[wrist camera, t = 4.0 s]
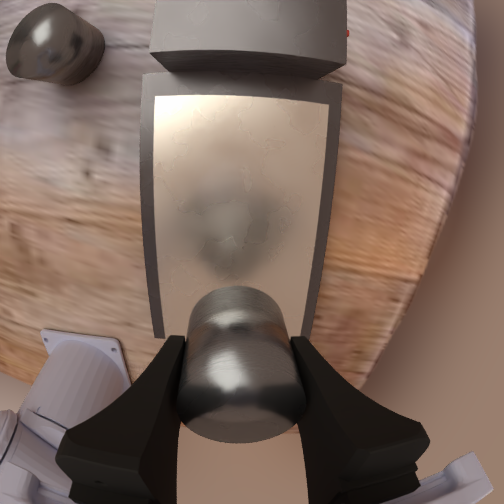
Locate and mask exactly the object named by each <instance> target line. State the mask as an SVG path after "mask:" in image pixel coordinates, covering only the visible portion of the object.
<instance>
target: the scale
mask: <svg viewBox="0 0 504 504" xmlns="http://www.w3.org/2000/svg"><path fill="white" fill-rule="evenodd" d="M348 36H349V30H347V2H346V0H156V3H155V9H154V16H153V23H152V31H151V39H150V48H149V53H150V54H151V55H152V56H153V57H154V58H155V59H156V60H157V61H158V62H160V63H161V64H162V65H163V66H164V67H165V68H166V69H167V70H168V71H169V72H160V73H147V74H143V79H142V94H141V115H140V195H141V217H142V233H143V246H144V258H145V268H146V277H147V286H148V295H149V302H150V310H151V317H152V324H153V330H154V337H155V338H163V339H166V340H167V338H168V337H169V336H170V335H182V336H185V342H186V336H187V330H188V324H189V318H190V314H191V312H192V309H193V308H194V306H195V304H196V303H197V302H198V301H199V300H200V299H201V298H202V297H203V296H205V295H206V294H208V293H210V292H211V291H213V290H216V289H219V288H222V287H226V286H247V287H252V288H255V289H258V290H260V291H262V292H264V293H266V294H267V295H269V296H270V297H271V298H272V299H274V301H275V302H276V303H277V304H278V306H279V307H280V309H281V312H282V314H283V318H284V321H285V325H286V328H287V332H288V335H289V339H290V338H291V336H305V337H306V338H307V339H308V340H309V338H310V333H311V329H312V324H313V318H314V313H315V308H316V303H317V297H318V292H319V286H320V281H321V275H322V269H323V263H324V256H325V250H326V243H327V237H328V230H329V222H330V215H331V207H332V199H333V191H334V182H335V173H336V164H337V153H338V142H339V130H340V117H341V101H342V84H340V83H335V82H329V81H323V80H317V79H319V78H321V77H323V76H325V75H326V74H328V73H330V72H333V71H335V70H336V69H338V68H340V67H342V66H344V65H346V56H347V37H348Z"/></svg>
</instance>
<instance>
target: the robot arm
mask: <svg viewBox="0 0 504 504" xmlns="http://www.w3.org/2000/svg"><path fill="white" fill-rule="evenodd" d="M40 334H41V337H42V340H43V342H44V345H45V347H46V350H47V352H48V355H49V358H48V359H47V361H46V363H45V364H44V366H43V368H42V369H41V371H40V373H39V374H38V376H37V378H36V380H35V381H34V383H33V385H32V387H31V388H30V390H29V392H28V394H27V396H26V398H25V399H24V401H23V403H22V405H21V407H20V409H19V411H18V413H16V414H15V413H14V412H13V411H12V410H7V411H6V410H5V411H0V504H177V496H176V495H177V492H176V491H177V490H176V489H177V488H176V487H177V483H176V482H177V480H176V479H177V449H178V437H179V429H180V424H181V420H180V418H179V416H178V414H177V410H176V402H177V395H178V388H179V381H180V374H181V367H182V361H183V354H184V348H185V336H182V335H170V336H169V337H168V338H167V340H166V342H165V343H164V345H163V346H162V348H161V349H160V351H159V352H158V354H157V355H156V356H155V358H154V359H153V360H152V362H151V363H150V364H149V366H148V367H147V368H146V369H145V371H144V372H143V373H142V374H141V375H140V376H139V378H138V379H137V380H136V381H135V382H134V383H133V384H132V385H131V382H130V379H129V375H128V372H127V368H126V365H125V361H124V358H123V354H122V350H121V346H120V343H119V341H118V340H117V339H114V338H107V337H98V336H90V335H82V334H75V333H68V332H61V331H54V330H48V329H42V330H41V332H40ZM290 343H291V346H292V350H293V353H294V357H295V360H296V364H297V367H298V371H299V375H300V378H301V382H302V385H303V389H304V392H305V396H306V409H305V412H304V414H303V416H302V417H301V419H300V420H299V421H298V422H297V424H298V428H299V432H300V436H301V442H302V448H303V454H304V461H305V469H306V478H307V488H308V499H309V504H475V503H477V502H478V501H479V500H481V499H482V498H484V497H485V496H486V495H487V494H489V493H490V492H492V491H493V487H492V485H491V483H490V481H489V479H488V477H487V475H486V473H485V472H484V470H483V468H482V466H481V464H480V463H479V461H478V459H477V457H476V455H475V454H474V452H473V451H471V452H469V453H468V454H465V455H463V456H461V457H459V458H457V459H455V460H454V461H452V462H451V463H450V464H448V465H447V466H446V467H445V468H444V470H443V471H441V472H438V473H436V474H434V475H431V476H429V477H427V478H424V479H422V480H418V478H417V476H416V473H415V471H417V469H418V468H417V465H416V463H415V462H416V461H417V460H418V459H419V458H420V456H421V455H422V454H423V453H424V452H425V451H426V449H427V448H428V446H429V444H430V439H429V437H428V435H427V434H426V431H425V429H424V428H423V426H422V425H421V423H420V422H417V421H414V420H412V419H409V418H406V417H404V416H401V415H399V414H397V413H395V412H393V411H391V410H389V409H387V408H385V407H383V406H381V405H379V404H378V403H376V402H375V401H373V400H372V399H370V398H368V397H367V396H365V395H364V394H363V393H361V392H360V391H359V390H357V389H356V388H355V387H353V386H352V385H351V384H350V383H348V382H347V381H346V380H345V379H344V378H343V377H342V376H341V375H340V374H339V373H338V372H337V371H335V370H334V368H333V367H332V366H331V365H330V364H329V363H328V362H327V361H326V360H325V359H324V358H323V357H322V356H321V354H320V353H319V352H318V351H317V350H316V349H315V347H314V346H313V345H312V344H311V343H310V341H309V340H308V339H307V338H306V337H305V336H291V338H290ZM114 348H115V349H114ZM116 349H117V350H116Z"/></svg>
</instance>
